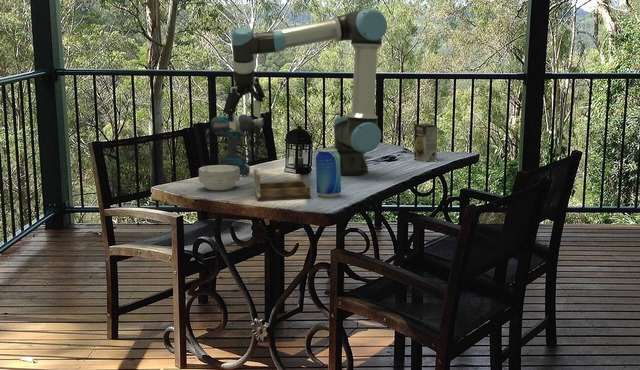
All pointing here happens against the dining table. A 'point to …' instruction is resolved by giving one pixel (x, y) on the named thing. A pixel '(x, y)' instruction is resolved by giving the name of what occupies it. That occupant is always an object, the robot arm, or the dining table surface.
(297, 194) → the open wooden box
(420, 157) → the coffee box
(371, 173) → the dining table surface
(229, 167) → the paper bowls
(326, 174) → the beer can
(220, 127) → the cordless power drill
